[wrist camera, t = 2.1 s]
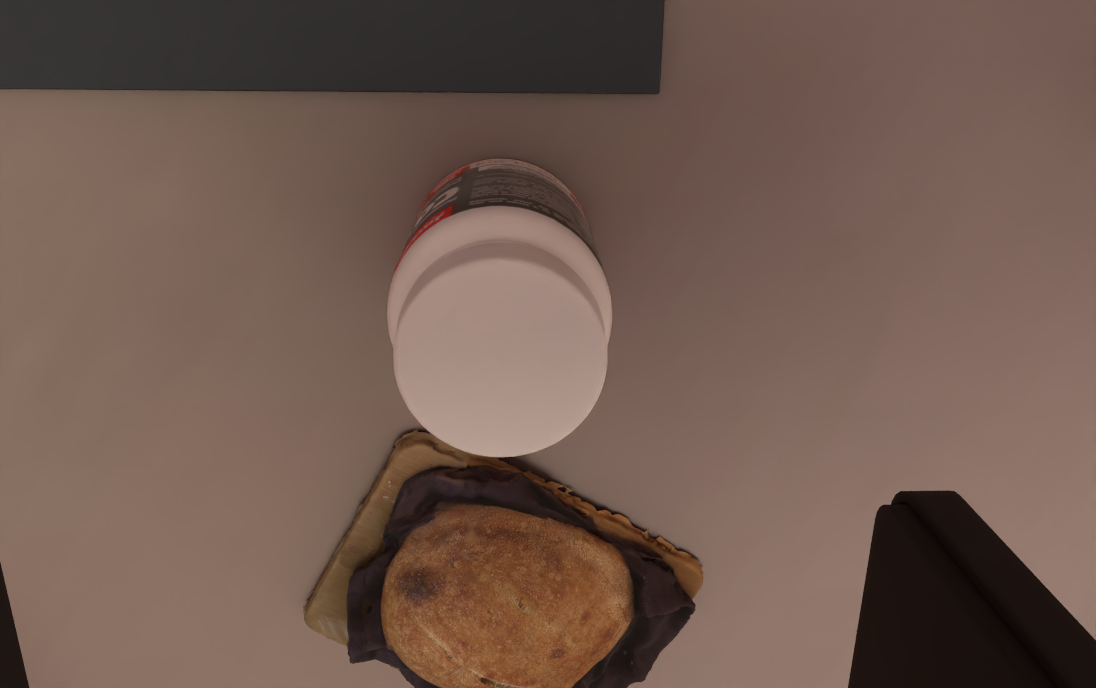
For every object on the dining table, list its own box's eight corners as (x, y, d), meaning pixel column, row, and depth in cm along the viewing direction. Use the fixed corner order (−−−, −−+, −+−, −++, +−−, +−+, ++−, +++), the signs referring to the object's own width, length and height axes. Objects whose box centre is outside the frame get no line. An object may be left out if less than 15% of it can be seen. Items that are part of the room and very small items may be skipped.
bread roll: (293, 615, 29) (262, 700, 25) (418, 403, 26) (402, 466, 23) (581, 742, 31) (589, 836, 28) (722, 558, 29) (750, 635, 25)
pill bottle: (431, 137, 24) (394, 208, 16) (608, 178, 24) (656, 266, 16) (399, 308, 25) (349, 448, 17) (565, 342, 26) (590, 494, 18)
